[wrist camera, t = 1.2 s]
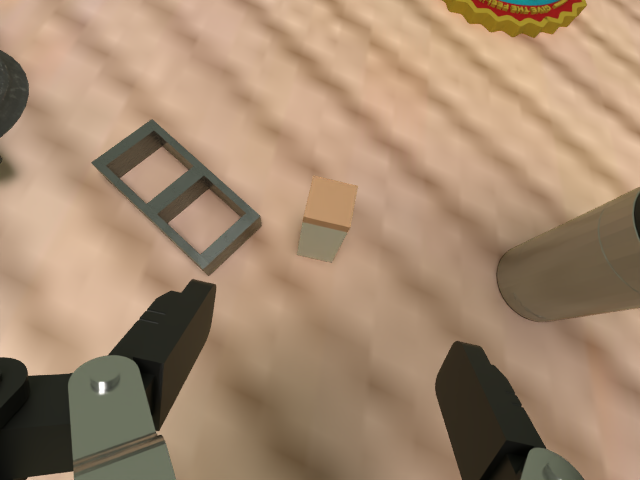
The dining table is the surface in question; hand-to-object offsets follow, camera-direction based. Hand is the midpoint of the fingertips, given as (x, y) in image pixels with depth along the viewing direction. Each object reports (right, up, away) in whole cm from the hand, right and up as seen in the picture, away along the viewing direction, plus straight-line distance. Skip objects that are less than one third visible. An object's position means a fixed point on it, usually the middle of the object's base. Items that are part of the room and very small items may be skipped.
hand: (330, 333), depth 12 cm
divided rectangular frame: (-16, +8, +29) cm, 34 cm away
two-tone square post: (-1, +3, +29) cm, 29 cm away
